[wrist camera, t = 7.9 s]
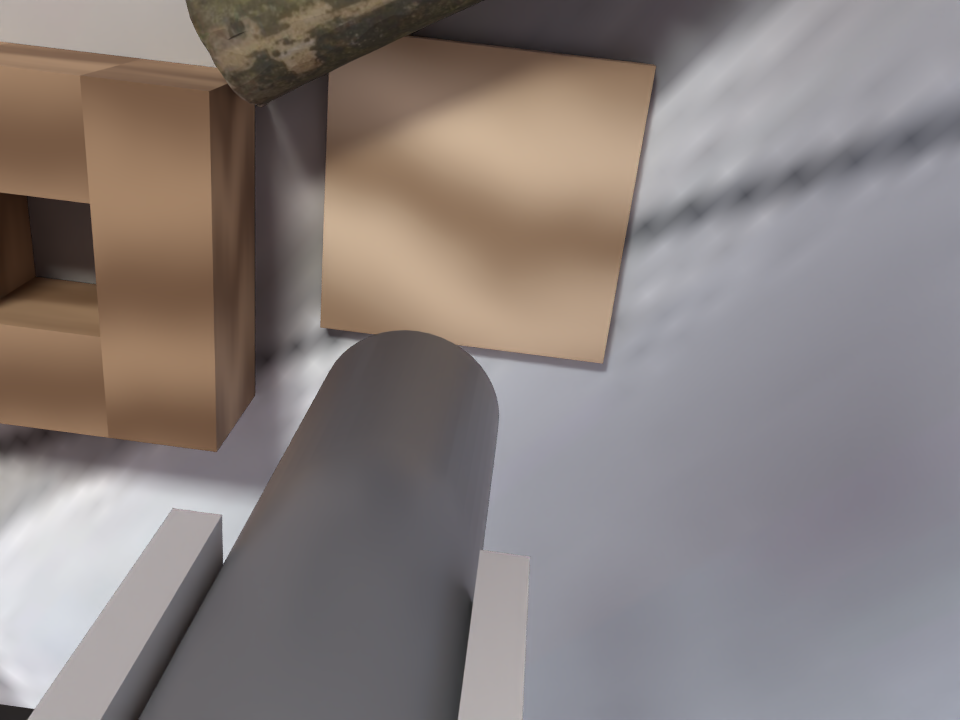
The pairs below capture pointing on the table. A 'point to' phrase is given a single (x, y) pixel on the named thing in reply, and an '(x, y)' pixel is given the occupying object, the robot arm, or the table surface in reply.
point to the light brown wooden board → (480, 194)
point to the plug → (354, 552)
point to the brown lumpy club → (302, 37)
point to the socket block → (128, 248)
